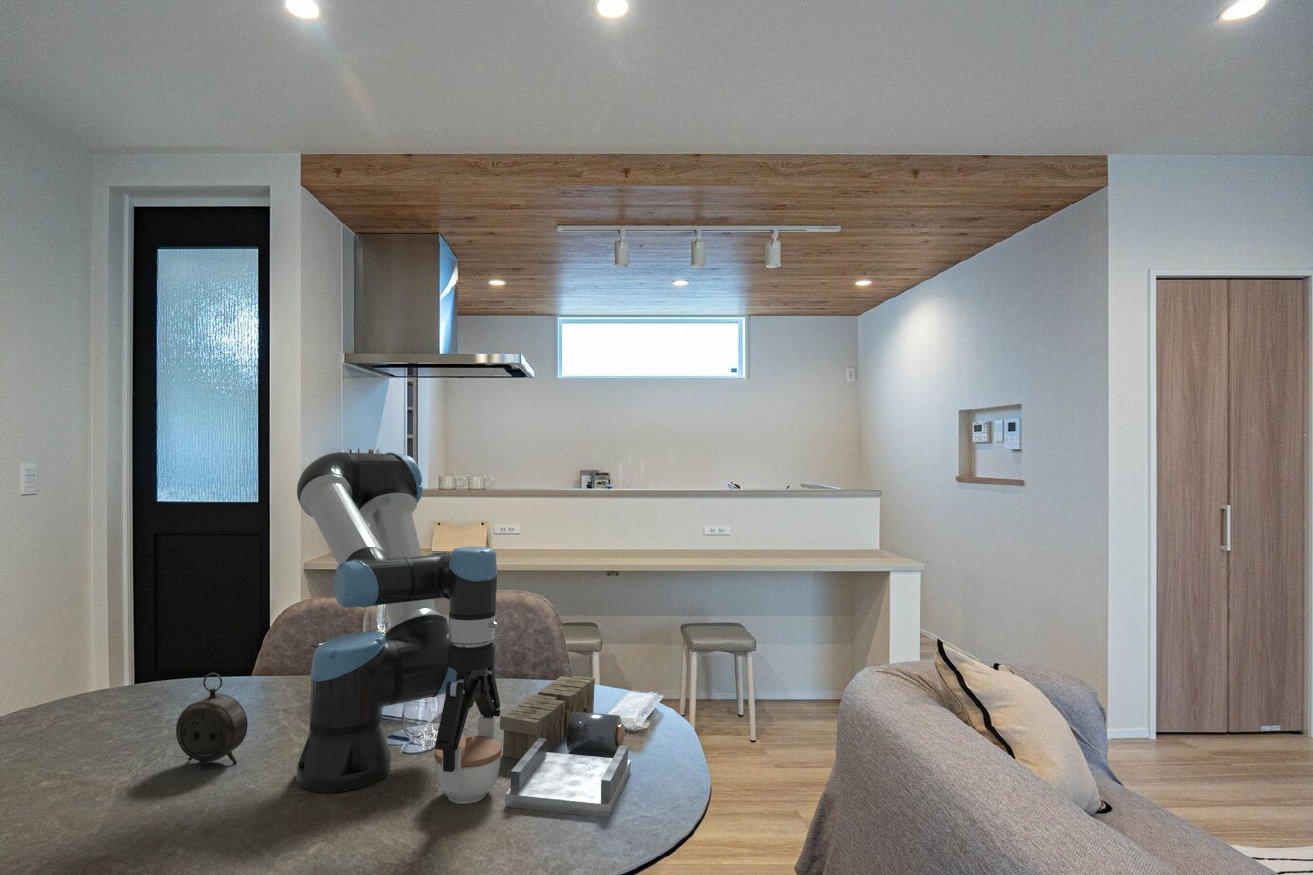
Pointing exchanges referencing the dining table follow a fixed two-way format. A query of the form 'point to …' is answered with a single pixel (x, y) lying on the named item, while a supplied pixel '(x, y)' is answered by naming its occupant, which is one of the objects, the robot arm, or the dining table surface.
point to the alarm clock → (211, 727)
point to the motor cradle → (574, 770)
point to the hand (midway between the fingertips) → (469, 772)
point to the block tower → (546, 714)
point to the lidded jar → (473, 768)
